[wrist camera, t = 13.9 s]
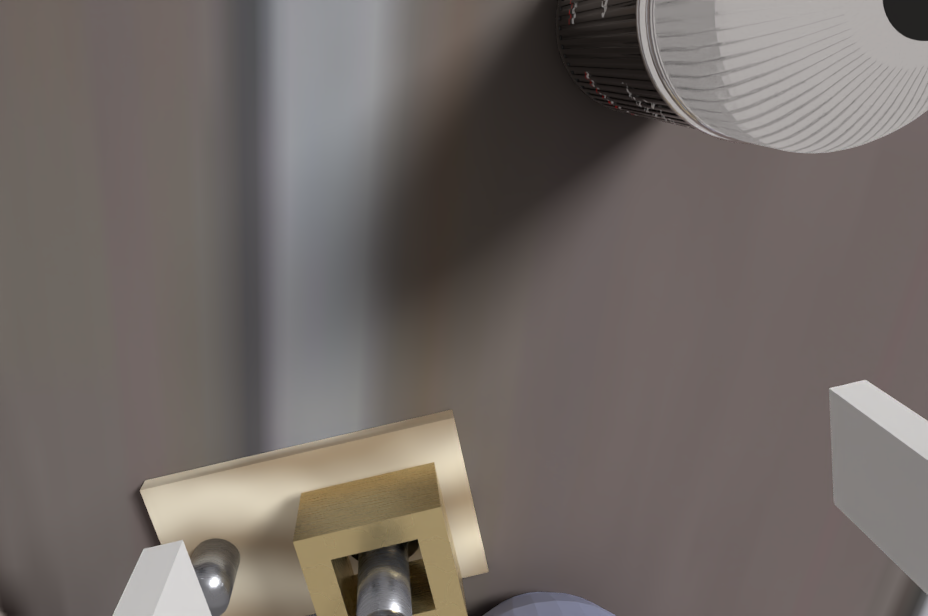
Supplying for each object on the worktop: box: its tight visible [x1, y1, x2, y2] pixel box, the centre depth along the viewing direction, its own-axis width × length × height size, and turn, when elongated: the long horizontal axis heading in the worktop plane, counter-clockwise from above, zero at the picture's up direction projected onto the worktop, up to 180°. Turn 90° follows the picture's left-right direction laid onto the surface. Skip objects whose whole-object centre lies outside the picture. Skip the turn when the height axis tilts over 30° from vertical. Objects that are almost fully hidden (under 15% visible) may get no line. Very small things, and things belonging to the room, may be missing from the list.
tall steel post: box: [351, 539, 419, 616], centre depth 44 cm, size 5×5×12 cm
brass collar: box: [293, 462, 468, 616], centre depth 46 cm, size 8×8×5 cm
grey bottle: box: [556, 0, 928, 153], centre depth 31 cm, size 10×10×25 cm
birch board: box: [140, 410, 489, 616], centre depth 50 cm, size 12×20×1 cm, turn 101°
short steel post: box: [191, 538, 240, 616], centre depth 48 cm, size 3×3×4 cm
